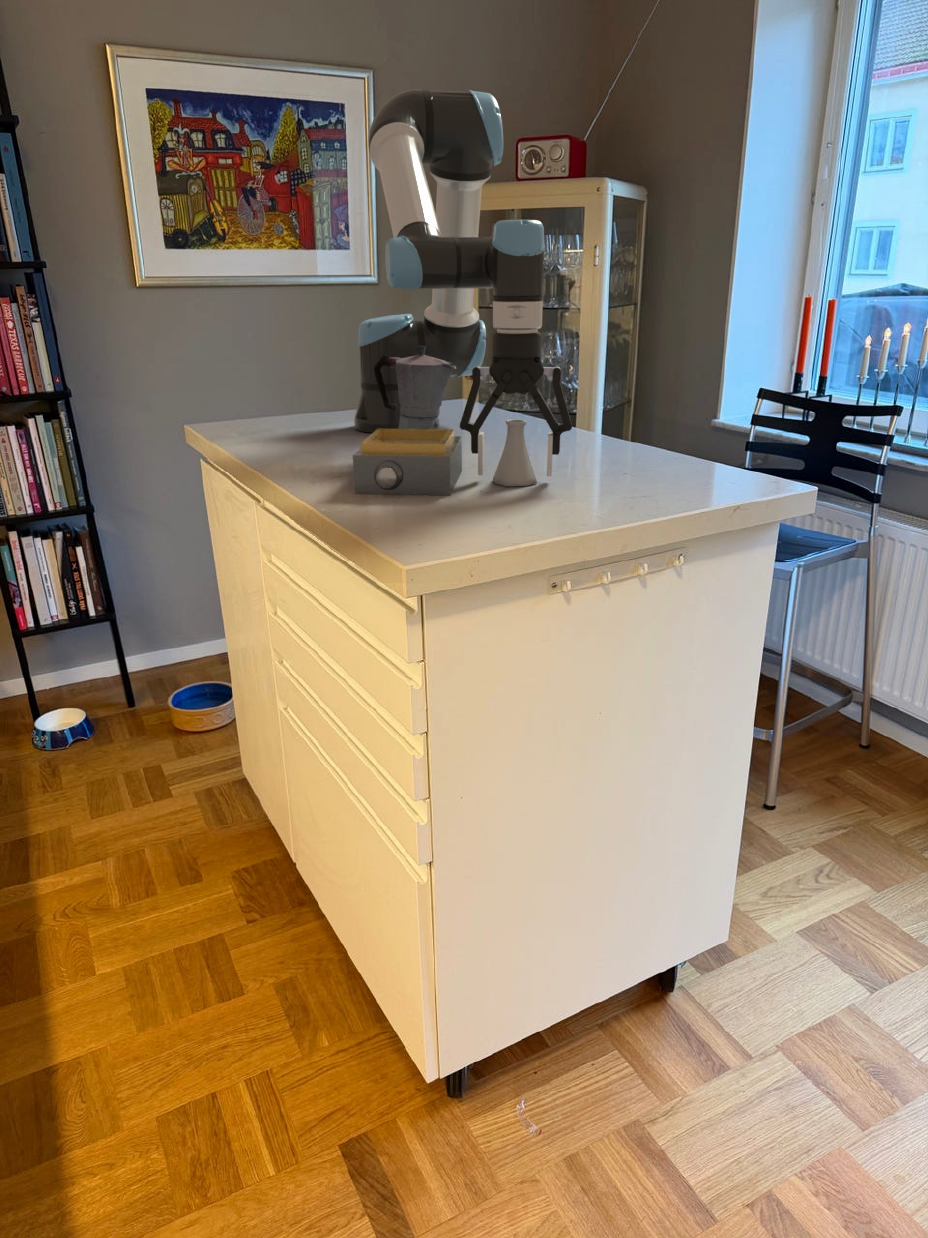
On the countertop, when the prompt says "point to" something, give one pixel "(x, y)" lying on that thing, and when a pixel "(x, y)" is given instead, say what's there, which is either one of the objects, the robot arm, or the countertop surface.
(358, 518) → the countertop surface
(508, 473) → the flask
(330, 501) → the countertop surface
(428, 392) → the moka pot
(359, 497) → the countertop surface
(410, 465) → the plate
